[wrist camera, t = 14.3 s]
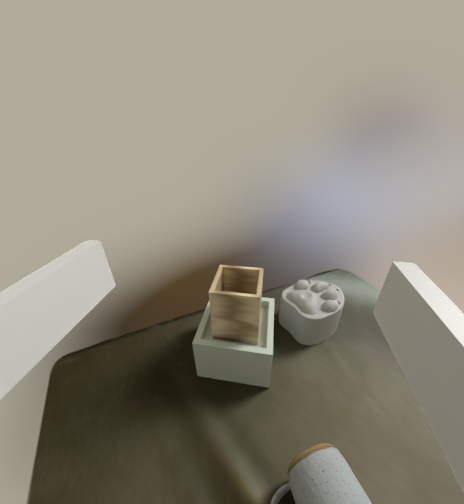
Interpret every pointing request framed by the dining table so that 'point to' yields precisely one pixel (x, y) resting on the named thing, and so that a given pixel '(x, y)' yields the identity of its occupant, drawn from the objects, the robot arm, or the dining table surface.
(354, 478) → the ceramic mug
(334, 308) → the lumpy-topped squat cylinder
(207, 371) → the pale green square box
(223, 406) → the dining table surface
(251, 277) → the birch crate
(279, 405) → the dining table surface
